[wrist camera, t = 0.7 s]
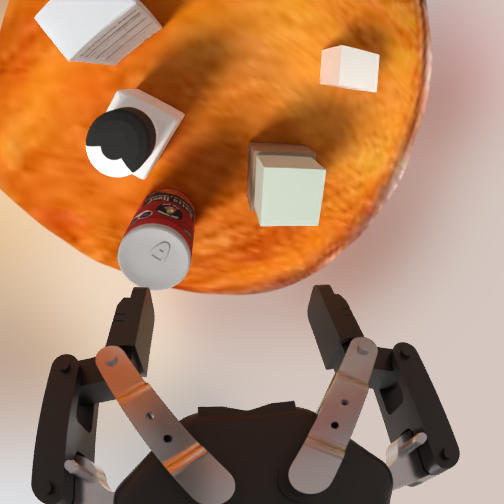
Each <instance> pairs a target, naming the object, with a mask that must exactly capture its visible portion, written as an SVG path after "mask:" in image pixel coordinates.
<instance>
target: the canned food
mask: <svg viewBox="0 0 504 504" xmlns="http://www.w3.org/2000/svg"><path fill="white" fill-rule="evenodd" d="M194 227H195V210H194V207H193V205H192V203H191V201H190V200H189V199H188V197H187V196H185V195H184V194H183V193H181V192H179V191H177V190H174V189H161V190H158V191H155V192H153V193H151V194H150V195H148V196H147V197H146V198H145V199H144V200H143V202H142V203H141V205H140V207H139V209H138V210H137V212H136V214H135V216H134V218H133V220H132V221H131V223H130V225H129V227H128V229H127V231H126V233H125V235H124V237H123V239H122V241H121V243H120V246H119V250H118V262H119V266H120V268H121V271H122V272H123V274H124V275H125V276H126V277H127V278H128V280H129V281H131V282H133V283H134V284H135V285H137V286H139V287H149V289H150V290H164V289H168V288H171V287H173V286H175V285H177V284H178V283H179V282H181V281H182V280H183V279H184V277H185V276H186V274H187V272H188V270H189V267H190V263H191V256H192V247H193V237H194Z"/></svg>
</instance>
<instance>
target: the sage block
mask: <svg viewBox="0 0 504 504" xmlns="http://www.w3.org/2000/svg"><path fill="white" fill-rule="evenodd" d="M325 176H326V169H325V168H323V167H322V166H321V165H320V164H319V163H317V162H316V161H315V160H314V159H313V158H311V157H302V156H281V155H257V159H256V180H255V200H254V207H255V210H256V214H257V217H258V220H259V223H260V226H318V223H319V217H320V210H321V204H322V197H323V190H324V183H325Z"/></svg>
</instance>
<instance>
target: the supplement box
mask: <svg viewBox="0 0 504 504" xmlns="http://www.w3.org/2000/svg"><path fill="white" fill-rule="evenodd" d="M35 19H36V21H37V22H38V23H39V25H40V26H41V27H42V29H43V30H44V31H45V32H46V34H47V35H48V36H49V38H50V39H51V40H52V41H53V43H54V44H55V45H56V46H57V48H58V49H59V50H60V51H61V52H62V54H63V55H64V56H65V57H66V58H67V60H68V61H76V62H87V63H97V64H106V65H114V66H115V65H117V64H118V63H119V62H120V61H121V60H122V59H124V58H125V57H126V56H127V55H128V54H130V53H131V52H132V51H133V50H134V49H136V48H137V47H138V46H139V45H141V44H142V43H143V42H145V41H146V40H147V39H149V38H150V37H151V36H152V35H154V34H155V33H157V32H158V31H159V30H161V29H162V26H161V25H160V23H159V22H158V21H157V19H156V18H155V17H154V16H153V15H152V13H151V12H150V11H149V10H148V9H147V8H146V6H145V5H144V4H143V3H142V2H141V1H140V0H50V1H49V2H48V3H47V4H46V5H45V6H44V7H43V8H42V9H41V10H40V11H39V13H38V14H37V15H36V16H35Z"/></svg>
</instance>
